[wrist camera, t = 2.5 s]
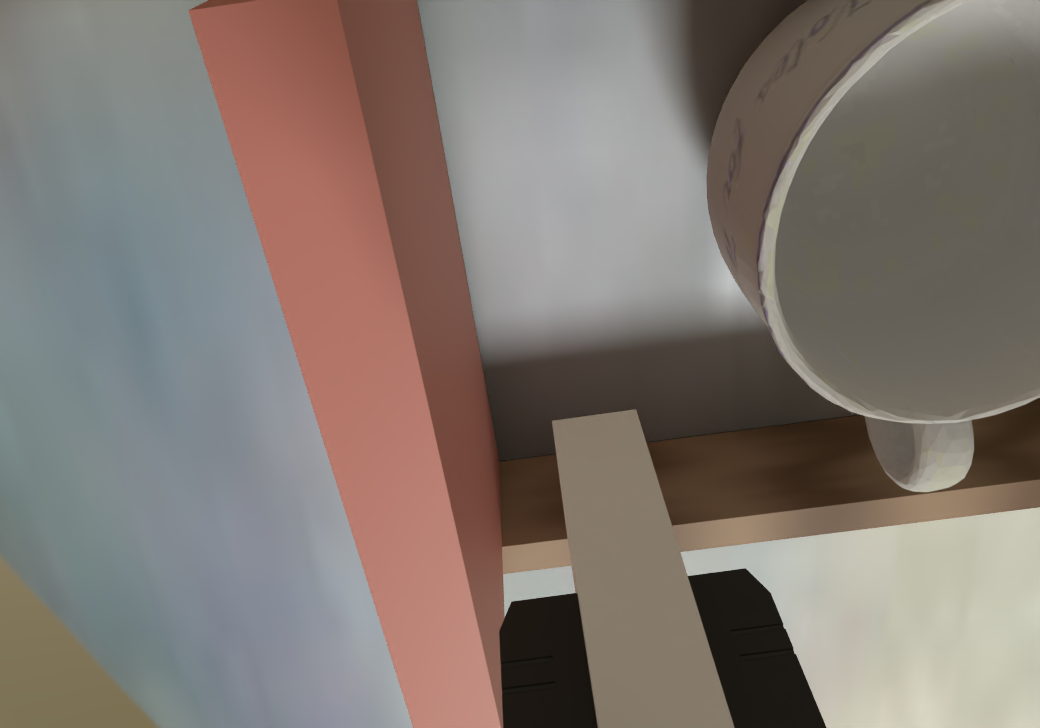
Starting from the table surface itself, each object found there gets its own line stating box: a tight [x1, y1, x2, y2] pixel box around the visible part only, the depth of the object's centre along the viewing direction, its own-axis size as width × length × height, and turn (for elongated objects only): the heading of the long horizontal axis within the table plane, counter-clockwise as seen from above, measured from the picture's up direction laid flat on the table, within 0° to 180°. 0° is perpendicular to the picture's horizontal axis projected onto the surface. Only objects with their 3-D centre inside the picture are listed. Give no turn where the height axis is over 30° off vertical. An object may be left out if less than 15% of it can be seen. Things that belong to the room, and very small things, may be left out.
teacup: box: [707, 0, 1040, 492], centre depth 22 cm, size 14×11×8 cm
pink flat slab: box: [189, 0, 504, 728], centre depth 21 cm, size 2×17×12 cm, turn 7°
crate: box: [499, 398, 1040, 574], centre depth 24 cm, size 25×20×4 cm
